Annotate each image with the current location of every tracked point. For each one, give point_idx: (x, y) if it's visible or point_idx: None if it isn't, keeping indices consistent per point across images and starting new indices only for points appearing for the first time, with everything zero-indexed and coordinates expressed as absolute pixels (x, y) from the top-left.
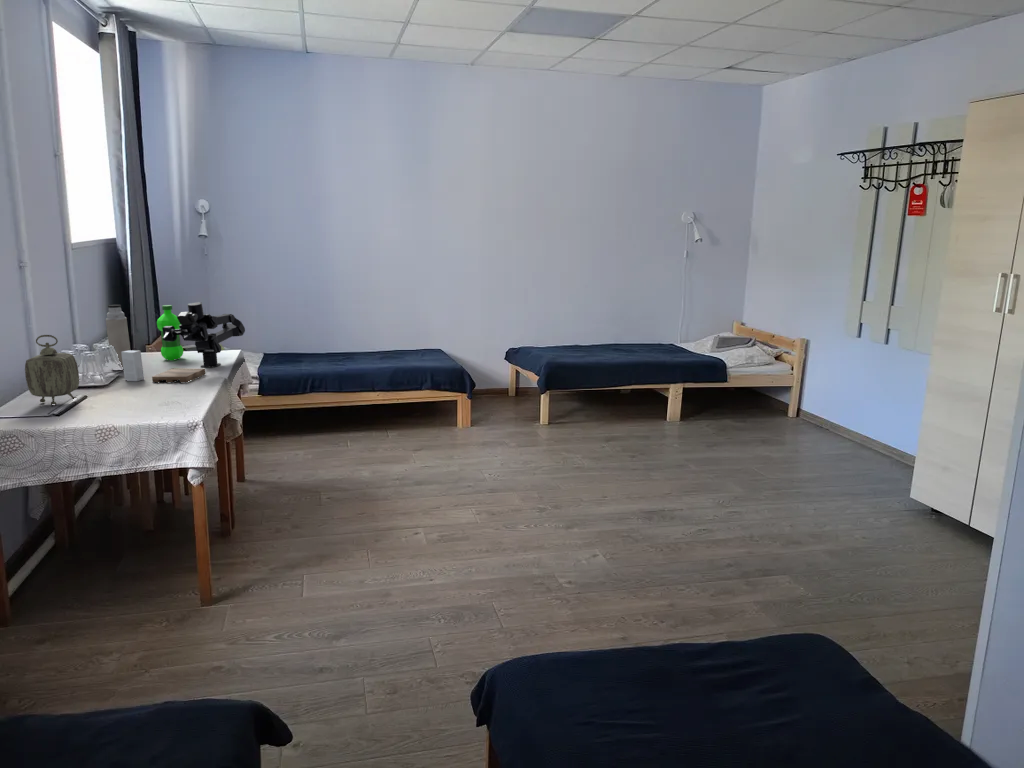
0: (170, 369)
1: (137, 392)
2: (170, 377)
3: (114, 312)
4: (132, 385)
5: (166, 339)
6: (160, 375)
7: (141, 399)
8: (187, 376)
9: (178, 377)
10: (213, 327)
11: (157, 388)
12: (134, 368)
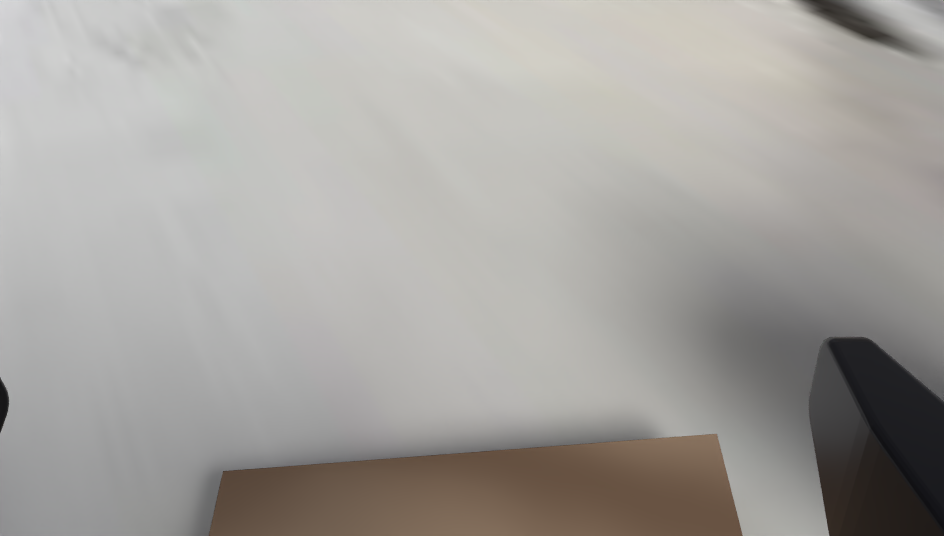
0: None
1: (557, 160)
2: (442, 459)
3: None
4: None
5: (845, 533)
6: (641, 507)
7: (395, 54)
8: (214, 514)
9: (328, 469)
10: None
11: (463, 279)
12: None
